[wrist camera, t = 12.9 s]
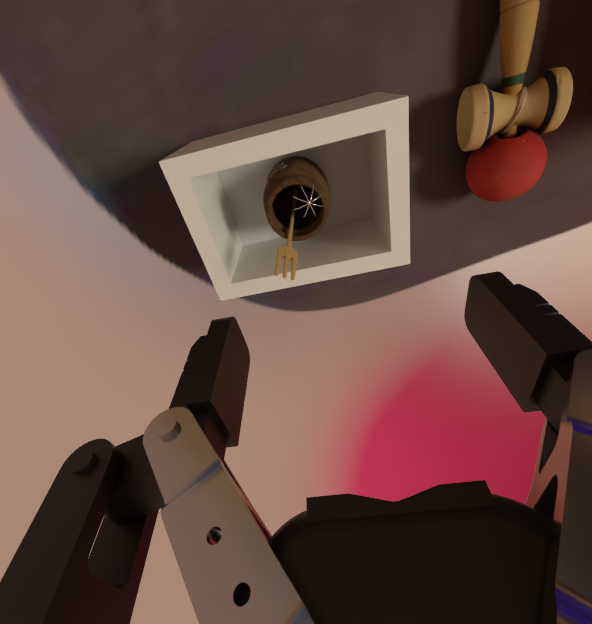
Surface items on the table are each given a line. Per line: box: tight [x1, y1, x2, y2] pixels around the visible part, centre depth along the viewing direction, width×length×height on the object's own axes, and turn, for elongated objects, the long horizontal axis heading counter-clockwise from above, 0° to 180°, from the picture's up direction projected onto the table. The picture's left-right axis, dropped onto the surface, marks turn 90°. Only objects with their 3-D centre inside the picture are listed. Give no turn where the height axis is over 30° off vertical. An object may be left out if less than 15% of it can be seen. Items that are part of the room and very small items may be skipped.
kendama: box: [457, 0, 573, 201], centre depth 25 cm, size 8×6×18 cm
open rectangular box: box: [159, 92, 410, 301], centre depth 28 cm, size 12×17×9 cm
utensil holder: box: [263, 156, 331, 280], centre depth 26 cm, size 6×6×12 cm
